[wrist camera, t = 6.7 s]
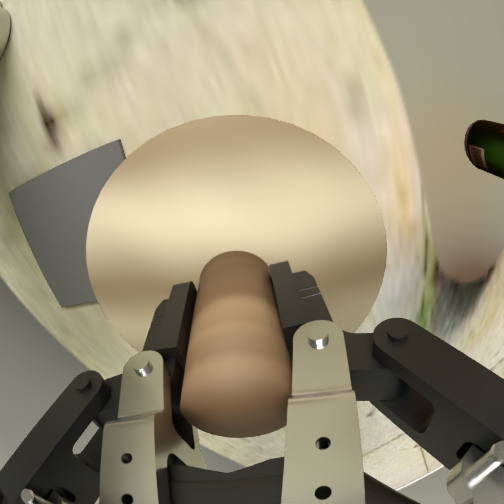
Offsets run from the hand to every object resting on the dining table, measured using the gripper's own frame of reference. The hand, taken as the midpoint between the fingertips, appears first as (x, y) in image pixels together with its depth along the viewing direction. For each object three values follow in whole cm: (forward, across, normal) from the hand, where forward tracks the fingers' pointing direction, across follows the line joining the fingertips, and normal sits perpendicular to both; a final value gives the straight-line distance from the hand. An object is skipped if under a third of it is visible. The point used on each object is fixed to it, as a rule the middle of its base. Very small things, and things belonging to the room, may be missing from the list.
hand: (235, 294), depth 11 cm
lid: (+2, 0, 0) cm, 2 cm away
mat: (+14, +15, 0) cm, 21 cm away
